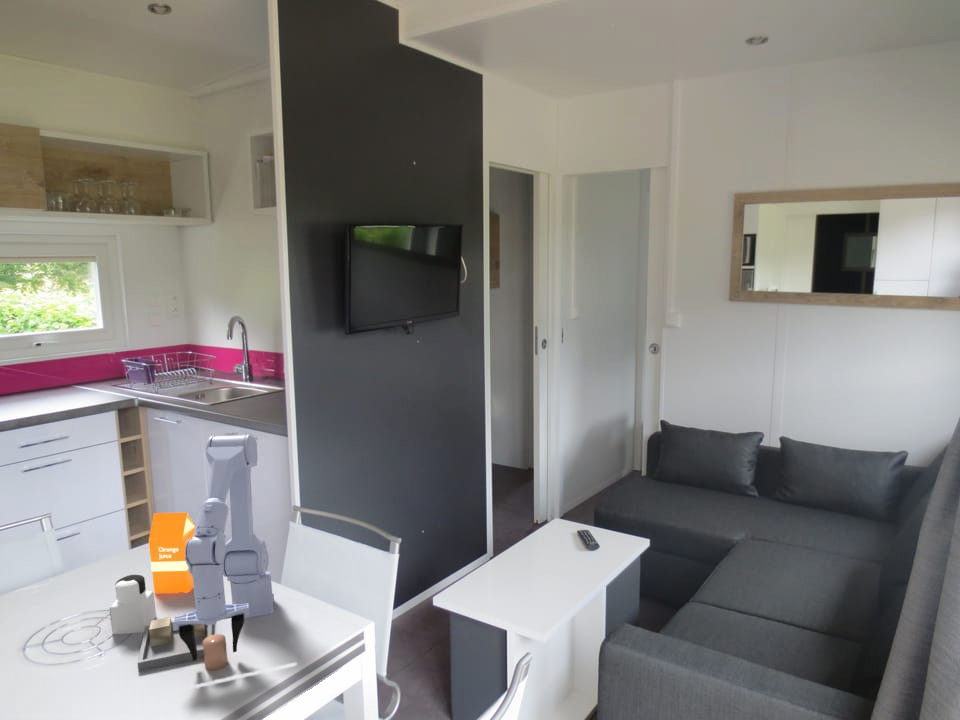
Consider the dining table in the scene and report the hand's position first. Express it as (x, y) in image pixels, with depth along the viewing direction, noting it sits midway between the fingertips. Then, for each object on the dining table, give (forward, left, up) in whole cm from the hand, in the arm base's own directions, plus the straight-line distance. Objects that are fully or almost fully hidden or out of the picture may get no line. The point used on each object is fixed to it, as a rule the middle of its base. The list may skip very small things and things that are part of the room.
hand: (215, 653), depth 141 cm
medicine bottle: (+18, -24, -3) cm, 30 cm away
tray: (+8, -11, -3) cm, 14 cm away
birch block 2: (+4, -15, -2) cm, 15 cm away
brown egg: (0, 0, -3) cm, 3 cm away
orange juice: (+10, -42, -3) cm, 43 cm away
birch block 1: (+11, -15, -2) cm, 19 cm away
